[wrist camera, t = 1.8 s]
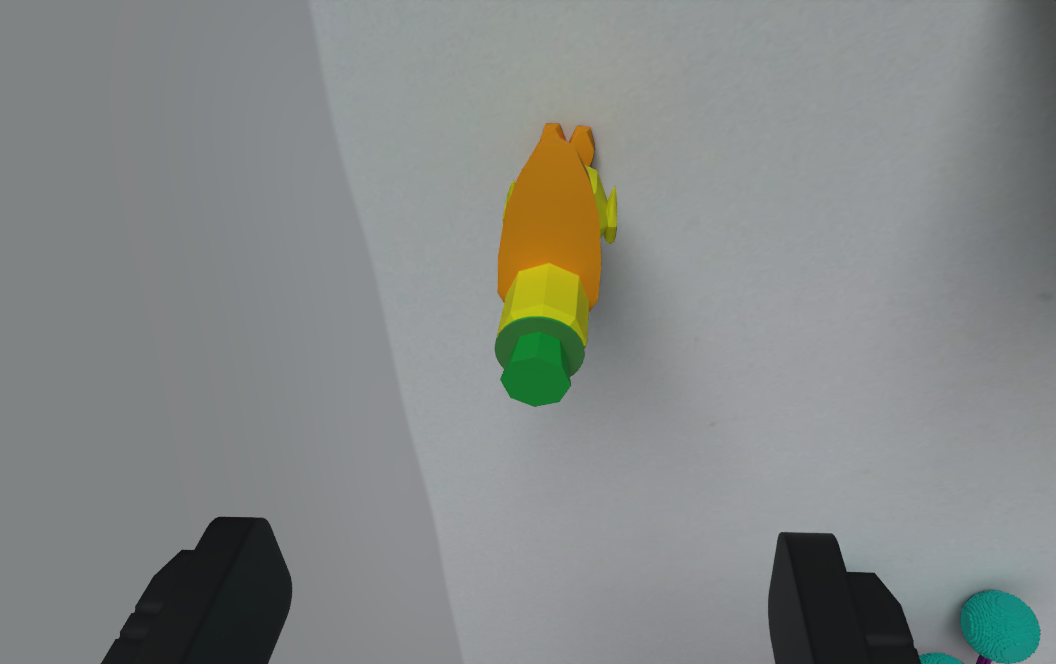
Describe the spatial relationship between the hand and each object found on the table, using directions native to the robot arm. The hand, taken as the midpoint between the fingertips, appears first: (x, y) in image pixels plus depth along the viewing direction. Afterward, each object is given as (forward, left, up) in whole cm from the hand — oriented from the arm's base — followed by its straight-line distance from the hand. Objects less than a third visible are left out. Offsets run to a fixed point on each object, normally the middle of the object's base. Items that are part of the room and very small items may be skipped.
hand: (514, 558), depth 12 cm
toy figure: (0, 0, -18) cm, 18 cm away
